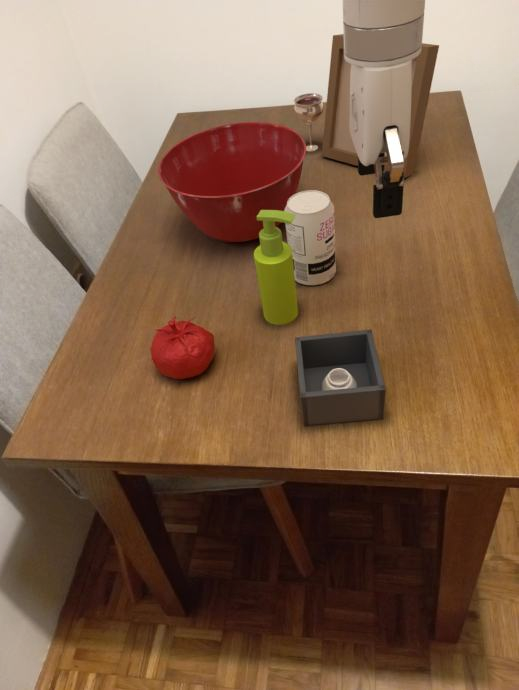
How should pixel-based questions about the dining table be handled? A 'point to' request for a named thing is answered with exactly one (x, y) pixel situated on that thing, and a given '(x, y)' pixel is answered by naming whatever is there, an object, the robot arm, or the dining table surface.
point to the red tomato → (182, 349)
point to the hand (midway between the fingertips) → (378, 193)
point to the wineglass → (309, 112)
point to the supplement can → (312, 237)
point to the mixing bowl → (234, 176)
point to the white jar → (338, 380)
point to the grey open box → (354, 357)
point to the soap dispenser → (275, 269)
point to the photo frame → (338, 105)
